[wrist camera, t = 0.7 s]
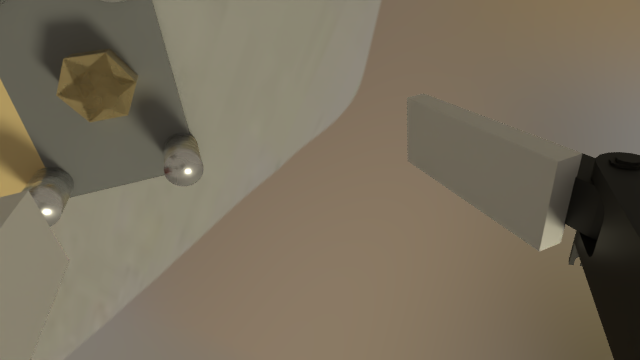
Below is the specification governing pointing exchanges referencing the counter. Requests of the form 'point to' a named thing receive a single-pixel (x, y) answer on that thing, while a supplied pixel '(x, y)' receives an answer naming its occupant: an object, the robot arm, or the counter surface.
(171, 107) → the mat
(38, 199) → the spacer
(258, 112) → the counter surface
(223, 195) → the counter surface
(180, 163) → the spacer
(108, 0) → the ball
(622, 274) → the robot arm
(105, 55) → the tan faceted flat piece
